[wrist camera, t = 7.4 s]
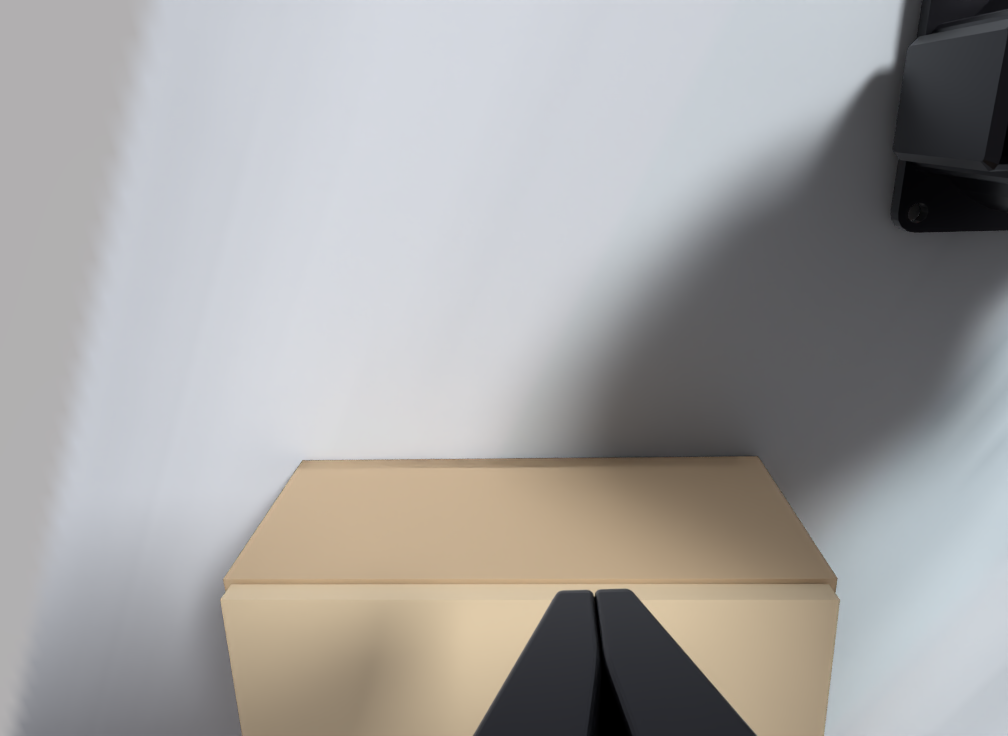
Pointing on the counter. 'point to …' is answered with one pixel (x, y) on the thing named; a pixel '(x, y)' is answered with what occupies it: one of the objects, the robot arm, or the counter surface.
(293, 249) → the counter surface
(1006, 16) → the robot arm
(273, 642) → the flap
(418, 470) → the cardboard box
